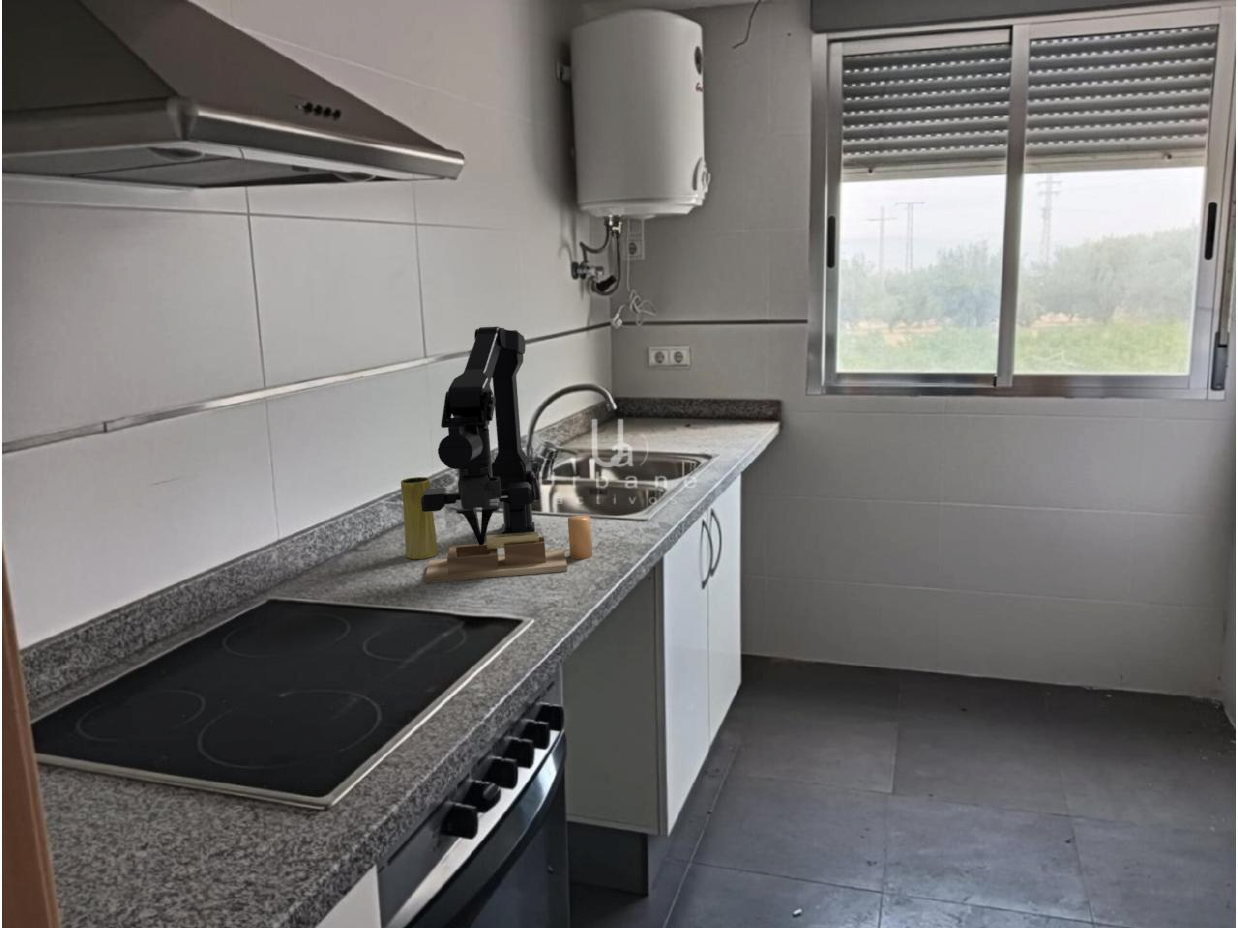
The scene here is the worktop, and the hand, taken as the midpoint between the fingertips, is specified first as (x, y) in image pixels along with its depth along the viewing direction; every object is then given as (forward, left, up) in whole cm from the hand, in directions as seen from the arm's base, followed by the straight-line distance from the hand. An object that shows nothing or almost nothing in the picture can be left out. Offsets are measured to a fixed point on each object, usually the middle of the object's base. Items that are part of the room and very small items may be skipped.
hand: (481, 544), depth 172 cm
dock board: (0, +2, -5) cm, 5 cm away
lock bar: (0, +6, -1) cm, 6 cm away
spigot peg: (-3, +17, -5) cm, 18 cm away
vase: (-12, -12, -5) cm, 18 cm away
